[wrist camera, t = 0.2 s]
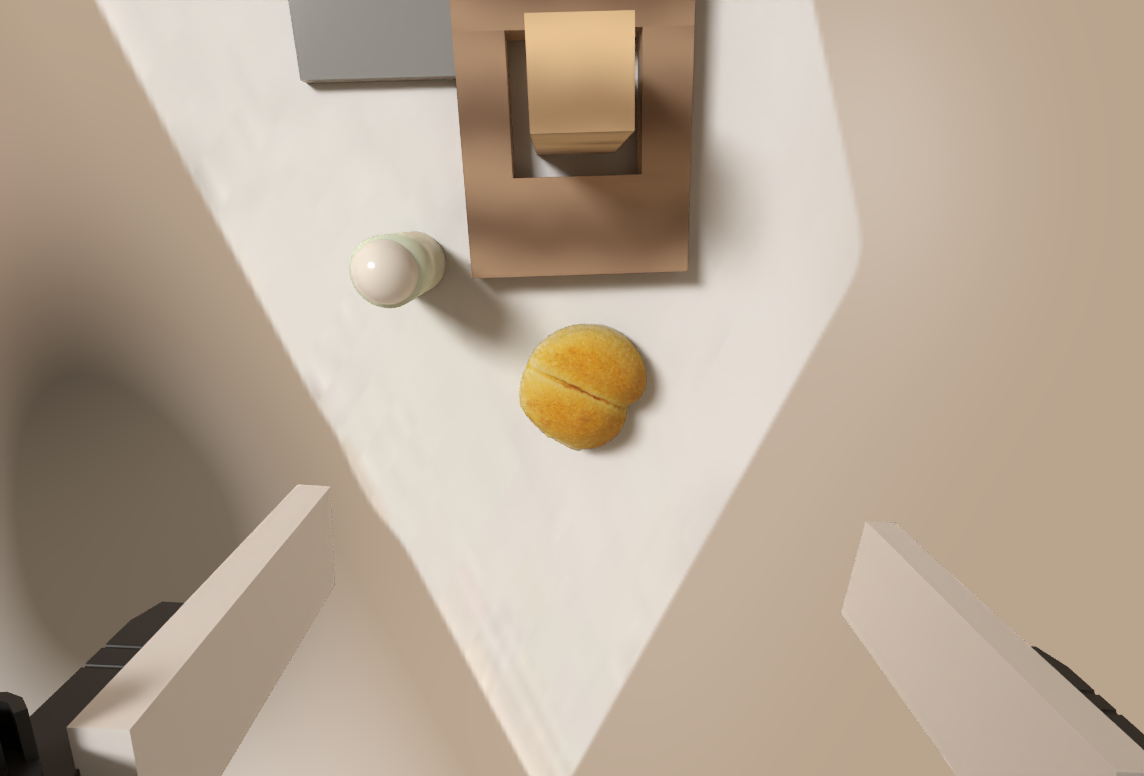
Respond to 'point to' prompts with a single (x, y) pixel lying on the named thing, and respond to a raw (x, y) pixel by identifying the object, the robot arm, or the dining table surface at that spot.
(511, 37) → the walnut board
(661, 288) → the dining table surface
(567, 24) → the oak block
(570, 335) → the bread roll
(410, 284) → the sage shaker
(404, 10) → the slate board
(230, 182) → the dining table surface
